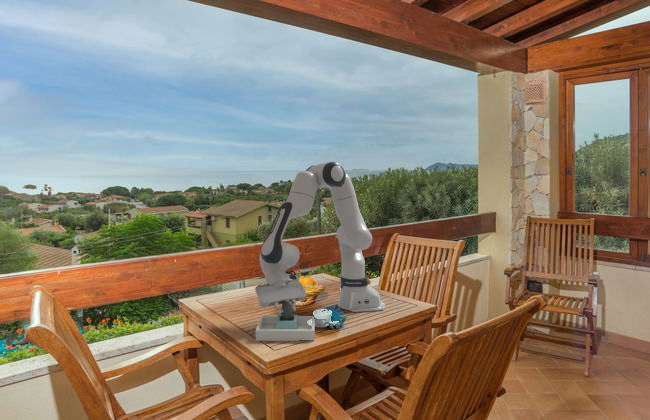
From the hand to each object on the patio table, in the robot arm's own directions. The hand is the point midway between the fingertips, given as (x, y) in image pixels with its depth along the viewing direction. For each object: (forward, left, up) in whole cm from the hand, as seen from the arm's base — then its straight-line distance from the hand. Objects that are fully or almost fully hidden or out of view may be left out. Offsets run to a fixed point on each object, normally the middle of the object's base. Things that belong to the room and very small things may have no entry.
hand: (287, 312), depth 163 cm
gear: (-19, -5, -8) cm, 21 cm away
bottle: (0, -1, -5) cm, 5 cm away
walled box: (0, +2, -8) cm, 8 cm away
